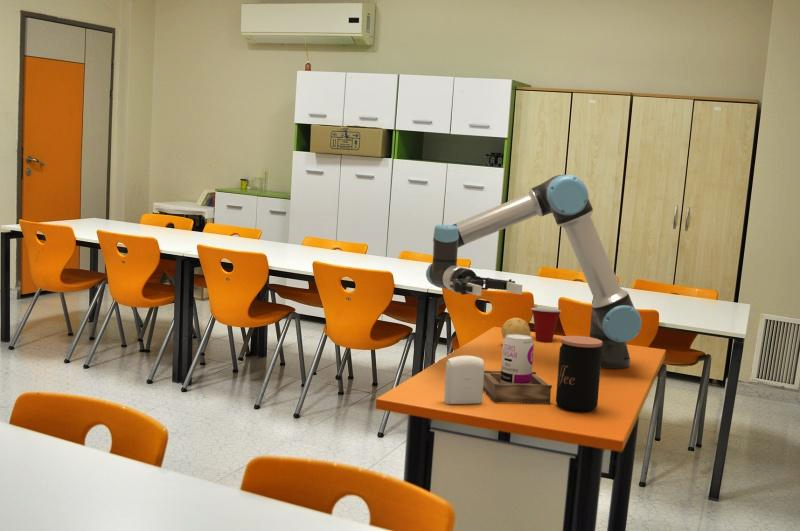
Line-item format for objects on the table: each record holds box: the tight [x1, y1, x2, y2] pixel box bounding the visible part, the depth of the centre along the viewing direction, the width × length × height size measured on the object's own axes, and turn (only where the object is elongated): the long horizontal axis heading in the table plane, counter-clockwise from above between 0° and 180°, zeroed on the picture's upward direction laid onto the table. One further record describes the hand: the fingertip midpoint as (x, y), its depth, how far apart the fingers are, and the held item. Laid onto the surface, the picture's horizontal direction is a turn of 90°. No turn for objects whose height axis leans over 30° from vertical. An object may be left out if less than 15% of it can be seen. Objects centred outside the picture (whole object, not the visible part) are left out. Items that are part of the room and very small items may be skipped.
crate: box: [483, 370, 553, 405], centre depth 233 cm, size 15×15×5 cm
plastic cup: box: [530, 307, 562, 343], centre depth 313 cm, size 11×11×12 cm
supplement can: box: [500, 334, 535, 384], centre depth 233 cm, size 8×8×15 cm
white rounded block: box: [443, 355, 485, 405], centre depth 223 cm, size 10×4×12 cm, turn 105°
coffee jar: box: [555, 335, 603, 414], centre depth 224 cm, size 11×11×18 cm
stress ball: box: [501, 317, 531, 340], centre depth 301 cm, size 10×10×10 cm
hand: (501, 290), depth 239 cm, fingers open, 13 cm apart
